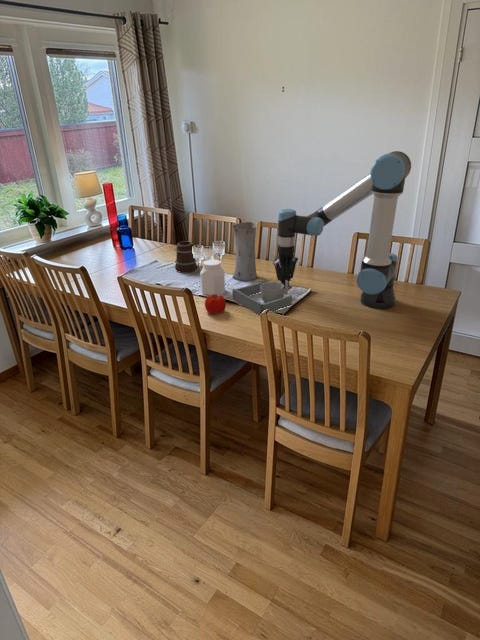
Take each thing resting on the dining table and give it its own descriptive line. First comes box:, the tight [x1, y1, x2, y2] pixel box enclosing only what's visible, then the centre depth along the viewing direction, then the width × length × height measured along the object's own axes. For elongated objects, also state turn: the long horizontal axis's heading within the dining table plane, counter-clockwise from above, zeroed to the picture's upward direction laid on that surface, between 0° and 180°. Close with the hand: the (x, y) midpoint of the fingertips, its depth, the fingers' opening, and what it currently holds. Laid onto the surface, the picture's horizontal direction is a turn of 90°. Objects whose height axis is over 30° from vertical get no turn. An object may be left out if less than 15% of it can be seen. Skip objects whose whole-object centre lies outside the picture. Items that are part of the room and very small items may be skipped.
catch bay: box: [231, 281, 293, 316], centre depth 200 cm, size 22×17×5 cm
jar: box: [199, 259, 226, 296], centre depth 211 cm, size 12×10×15 cm
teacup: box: [260, 280, 285, 303], centre depth 202 cm, size 14×11×8 cm
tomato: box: [204, 294, 227, 315], centre depth 192 cm, size 9×9×8 cm
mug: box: [174, 240, 198, 273], centre depth 243 cm, size 16×12×15 cm
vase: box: [232, 221, 258, 282], centre depth 225 cm, size 13×14×28 cm
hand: (284, 293), depth 207 cm, fingers closed
